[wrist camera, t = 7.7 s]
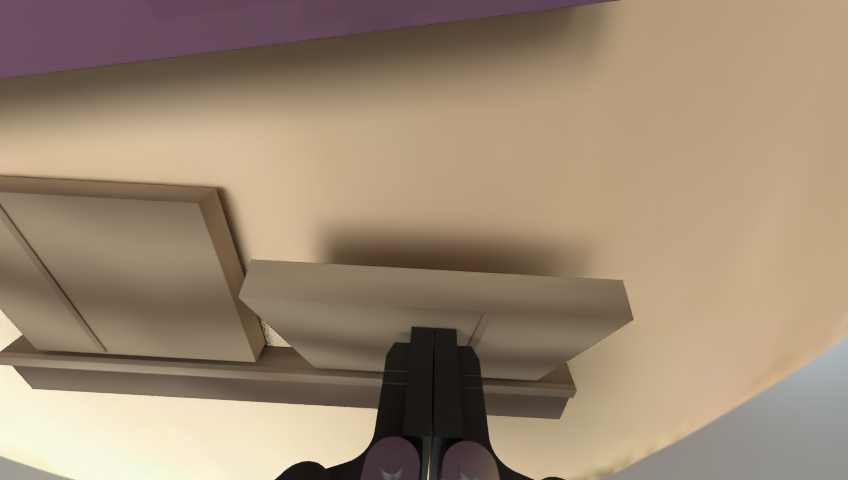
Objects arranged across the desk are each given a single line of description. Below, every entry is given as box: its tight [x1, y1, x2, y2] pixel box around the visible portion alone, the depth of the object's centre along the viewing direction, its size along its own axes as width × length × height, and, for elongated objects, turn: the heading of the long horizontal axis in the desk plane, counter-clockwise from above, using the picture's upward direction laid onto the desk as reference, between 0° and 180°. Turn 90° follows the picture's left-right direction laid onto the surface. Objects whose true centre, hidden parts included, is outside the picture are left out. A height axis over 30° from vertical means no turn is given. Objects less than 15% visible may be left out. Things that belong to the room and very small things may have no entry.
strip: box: [0, 335, 577, 419], centre depth 19 cm, size 3×29×2 cm, turn 87°
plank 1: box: [0, 176, 265, 362], centre depth 15 cm, size 9×11×1 cm
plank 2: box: [238, 260, 634, 381], centre depth 14 cm, size 9×11×1 cm
